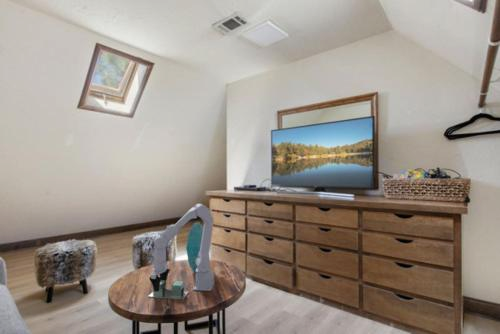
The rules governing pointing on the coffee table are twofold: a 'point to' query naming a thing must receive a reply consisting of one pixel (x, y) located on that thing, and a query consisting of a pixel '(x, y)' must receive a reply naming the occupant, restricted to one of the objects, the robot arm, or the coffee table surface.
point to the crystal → (194, 244)
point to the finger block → (160, 288)
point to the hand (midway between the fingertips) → (159, 287)
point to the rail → (173, 291)
